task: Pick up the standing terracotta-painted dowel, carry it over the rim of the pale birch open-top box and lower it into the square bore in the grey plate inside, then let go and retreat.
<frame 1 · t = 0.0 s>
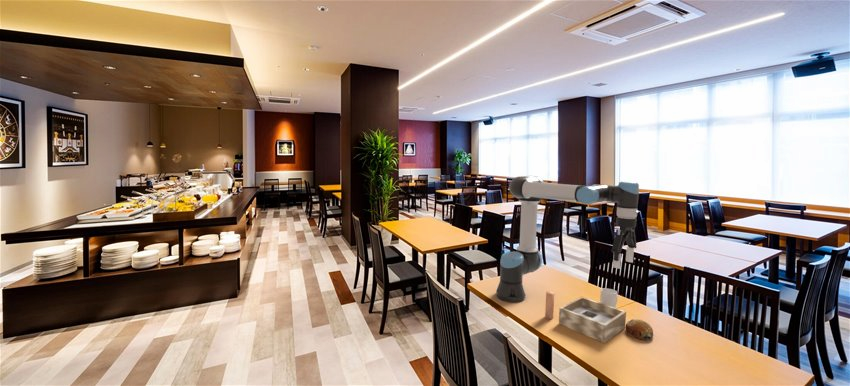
hand: (622, 264, 147), 28 cm above the table, fingers open, 13 cm apart
mug: (609, 314, 160), on the table
bread roll: (639, 335, 142), on the table
socket box: (591, 325, 149), on the table
peg: (549, 317, 157), on the table
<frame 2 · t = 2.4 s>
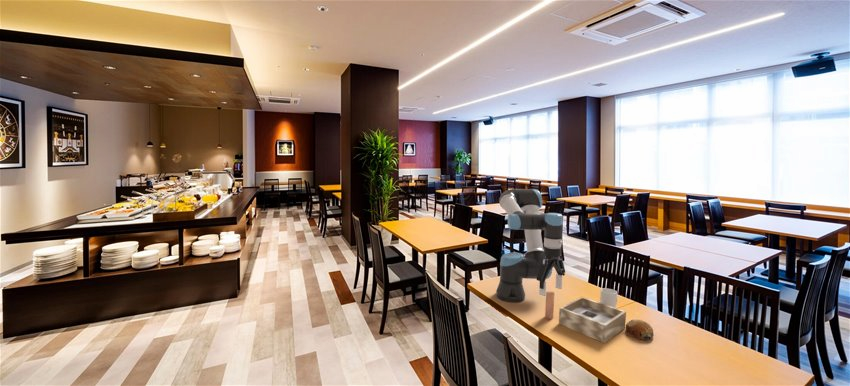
hand: (550, 291, 155), 13 cm above the table, fingers open, 13 cm apart
nothing on the table moved.
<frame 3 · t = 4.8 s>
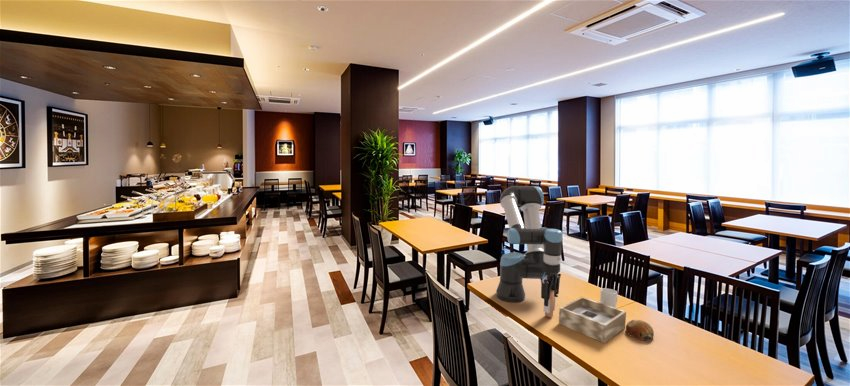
hand: (549, 310, 157), 3 cm above the table, fingers closed on peg, 3 cm apart
peg: (548, 315, 157), point 1 cm above the table, touching gripper
everything else where it was.
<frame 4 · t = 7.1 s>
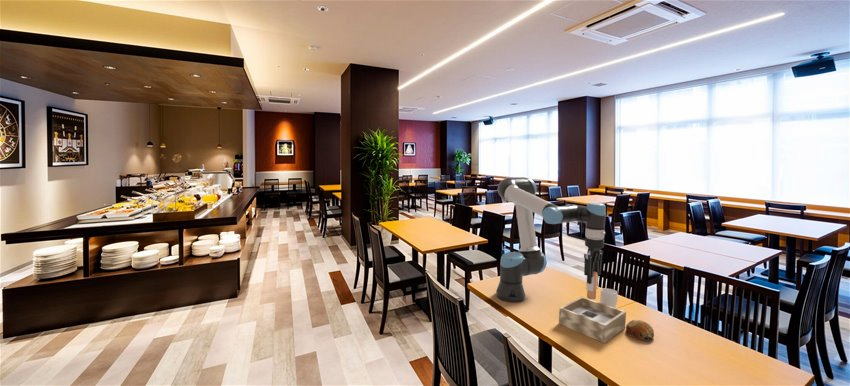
hand: (591, 288, 150), 16 cm above the table, fingers closed on peg, 3 cm apart
peg: (591, 297, 150), point 12 cm above the table, touching gripper
everything else where it was.
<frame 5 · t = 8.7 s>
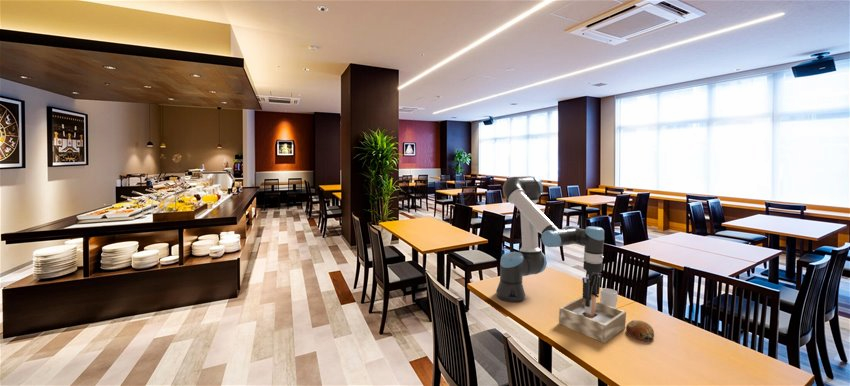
hand: (590, 311, 151), 5 cm above the table, fingers closed on peg, 3 cm apart
peg: (589, 321, 152), point 1 cm above the table, touching gripper
everything else where it was.
when the fingers open (5 cm above the table, at t = 9.6 s): peg stays where it is, resting in socket box.
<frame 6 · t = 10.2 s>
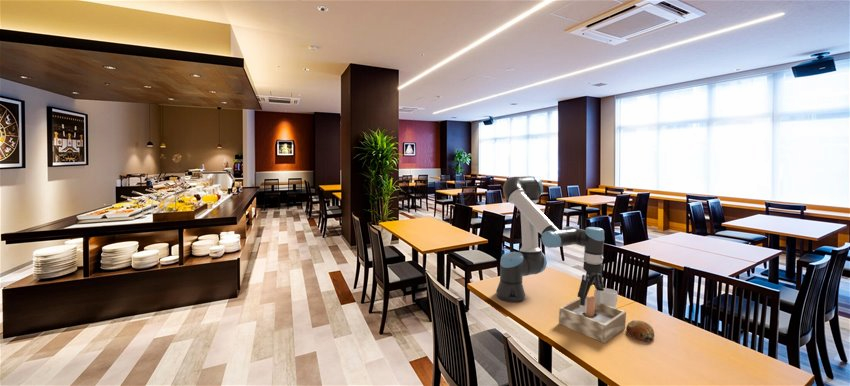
hand: (590, 307, 151), 7 cm above the table, fingers open, 13 cm apart
peg: (589, 322, 152), resting in socket box
everything else where it was.
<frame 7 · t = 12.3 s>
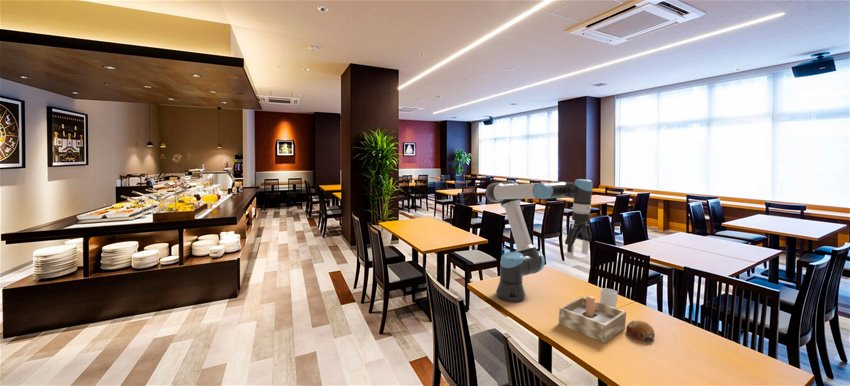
hand: (577, 256, 159), 28 cm above the table, fingers open, 13 cm apart
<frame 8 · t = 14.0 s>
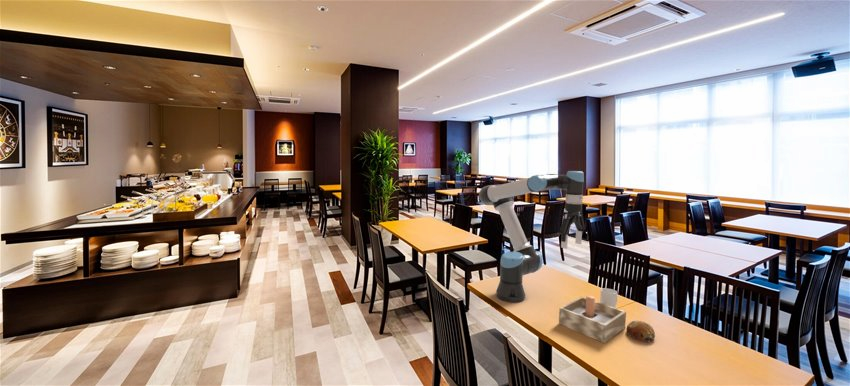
hand: (571, 245, 164), 32 cm above the table, fingers open, 13 cm apart
at the end: peg 0.0 cm from the target spot on the socket box, point 0.0 cm above the socket box's base; peg tilted 0°; the gripper is holding nothing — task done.
